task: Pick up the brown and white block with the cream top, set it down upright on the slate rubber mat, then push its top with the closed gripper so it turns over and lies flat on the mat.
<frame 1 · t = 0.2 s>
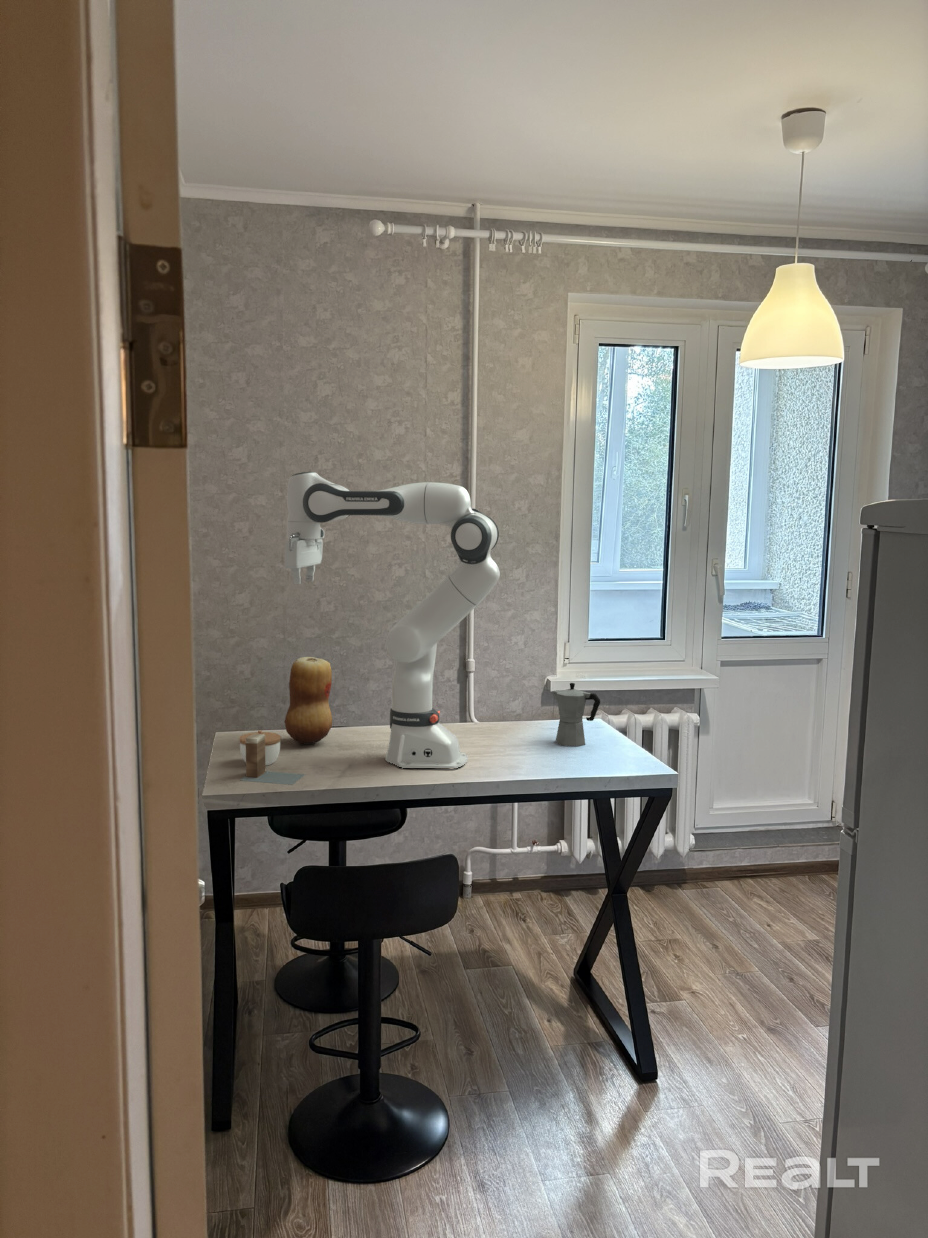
hand: (303, 583, 254), 47 cm above the table, tool pointing down, fingers open, 8 cm apart
butternut squash: (309, 743, 270), on the table
lidded jar: (260, 766, 247), on the table
brown and white block: (255, 774, 236), point 1 cm above the table, touching slate mat
slate mat: (272, 780, 234), on the table
coffeepot: (573, 743, 275), on the table
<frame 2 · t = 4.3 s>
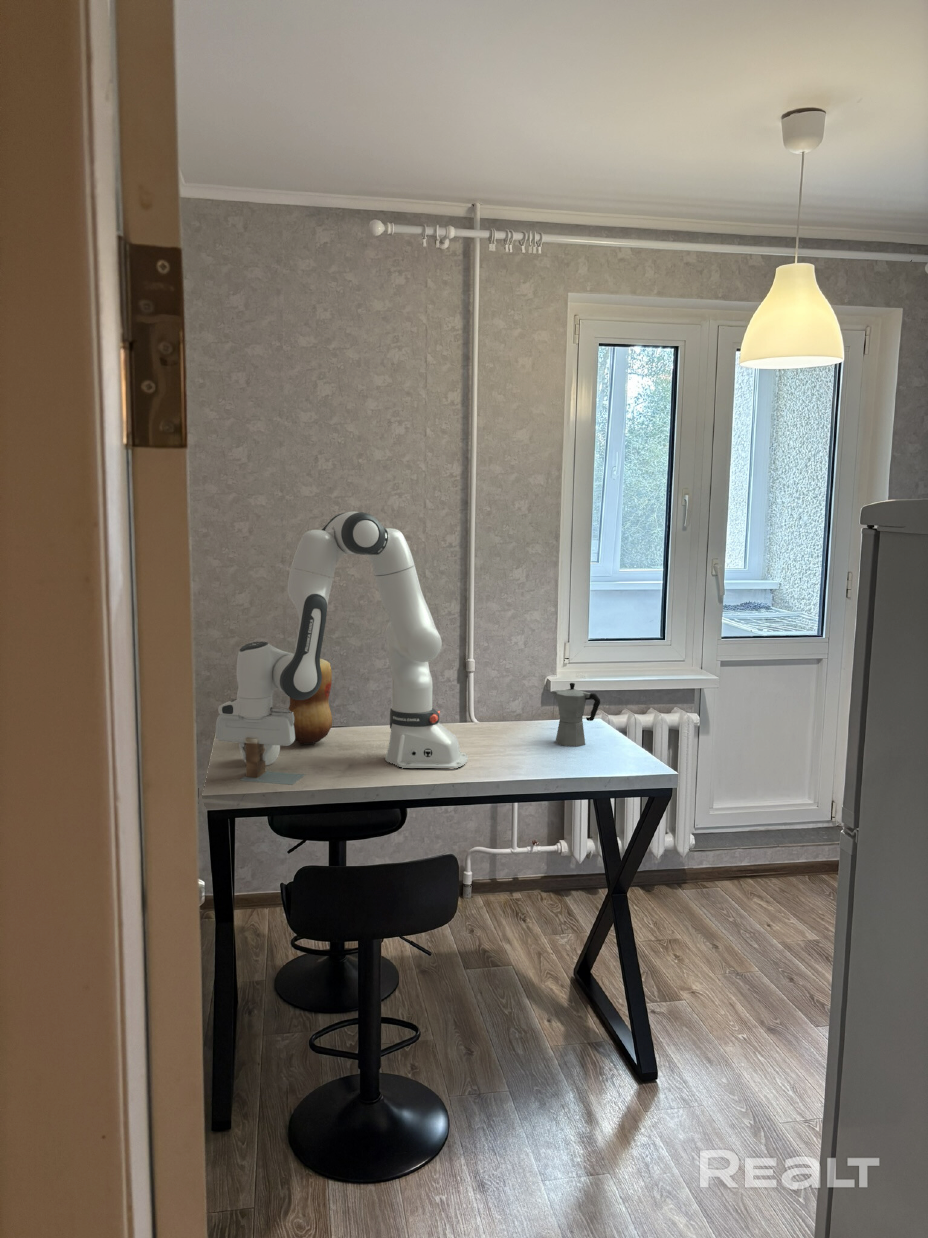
hand: (255, 760, 236), 5 cm above the table, tool pointing down, fingers closed on brown and white block, 3 cm apart
brown and white block: (255, 774, 236), point 1 cm above the table, touching gripper, slate mat
everything else where it was.
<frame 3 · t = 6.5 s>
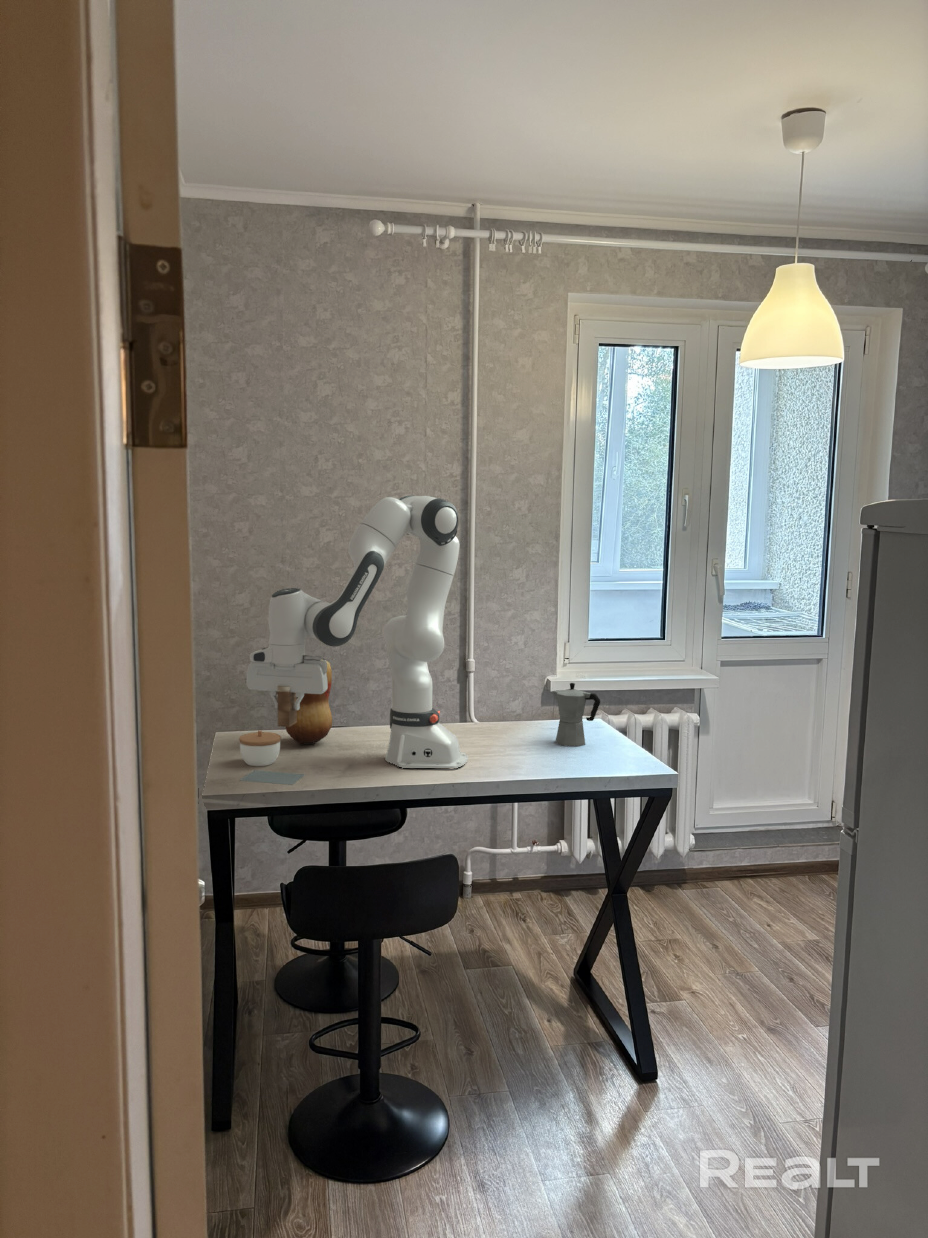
hand: (287, 709, 231), 19 cm above the table, tool pointing down, fingers closed on brown and white block, 3 cm apart
brown and white block: (287, 724, 232), point 15 cm above the table, touching gripper
everything else where it was.
when the fingers open (6 cm above the table, at t = 8.9 s): brown and white block drops 1 cm, resting on slate mat.
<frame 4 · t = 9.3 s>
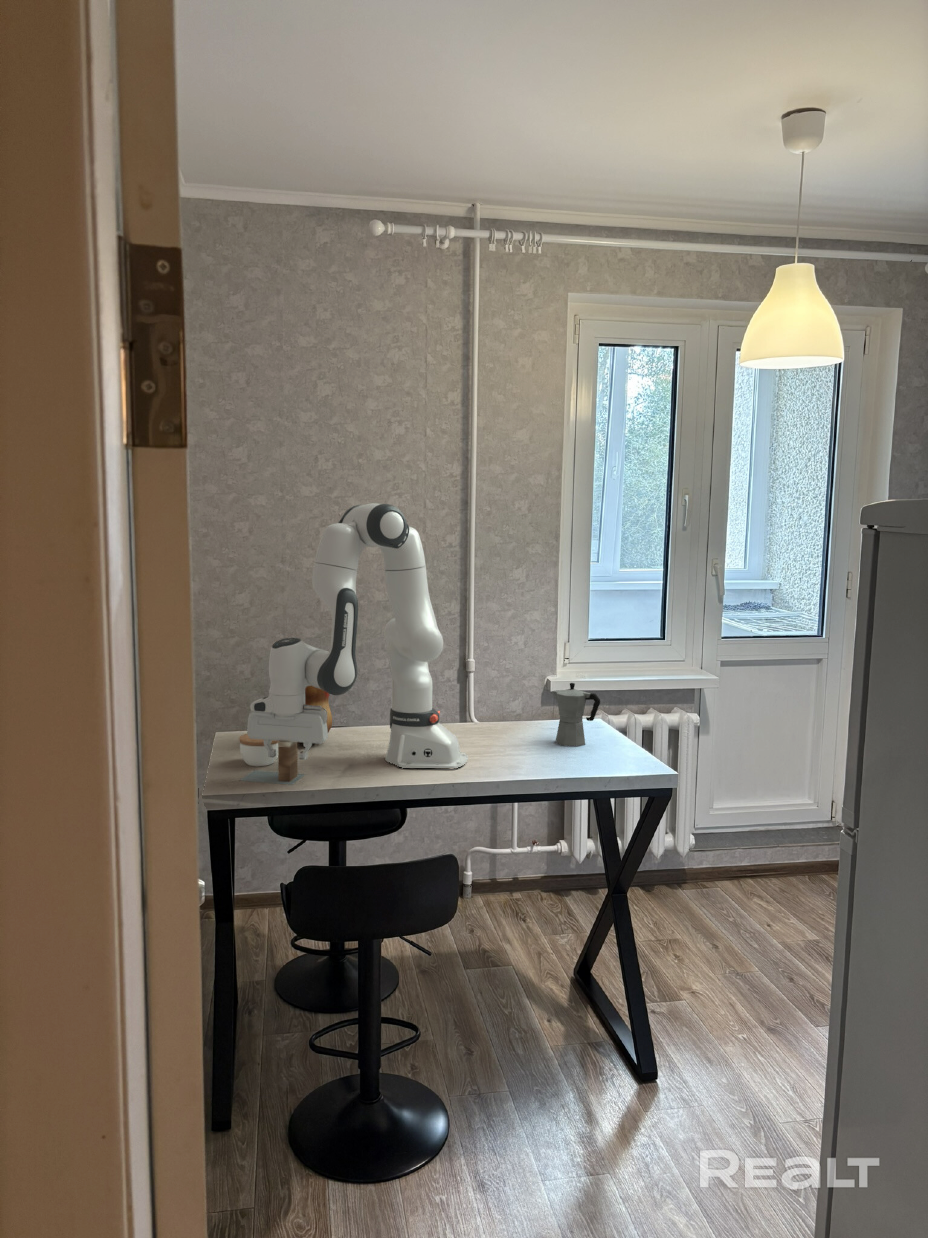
hand: (287, 758, 233), 6 cm above the table, tool pointing down, fingers open, 7 cm apart
brown and white block: (288, 778, 234), point 1 cm above the table, touching slate mat
everything else where it was.
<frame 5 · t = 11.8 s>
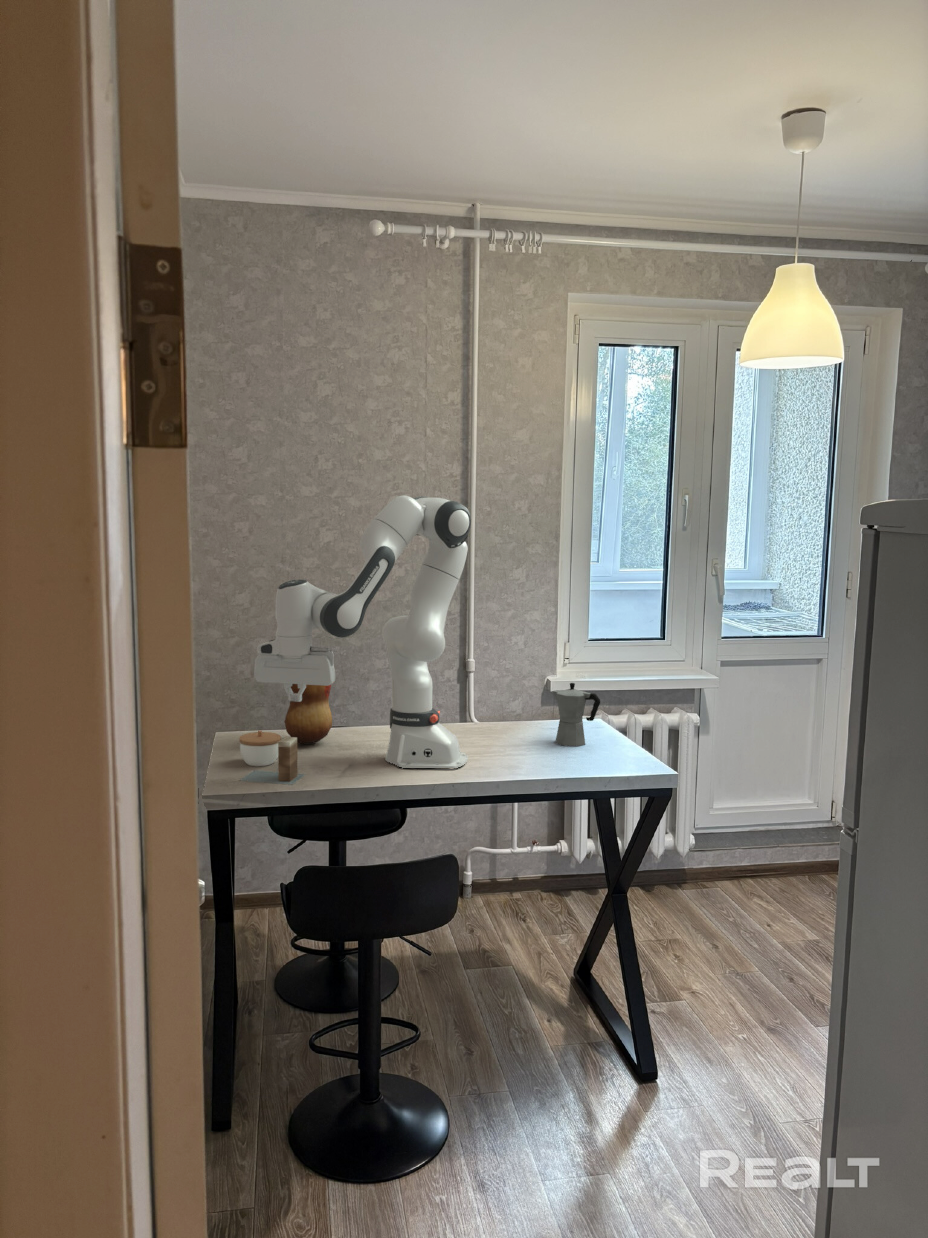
hand: (295, 701, 231), 21 cm above the table, tool pointing down, fingers closed
nothing on the table moved.
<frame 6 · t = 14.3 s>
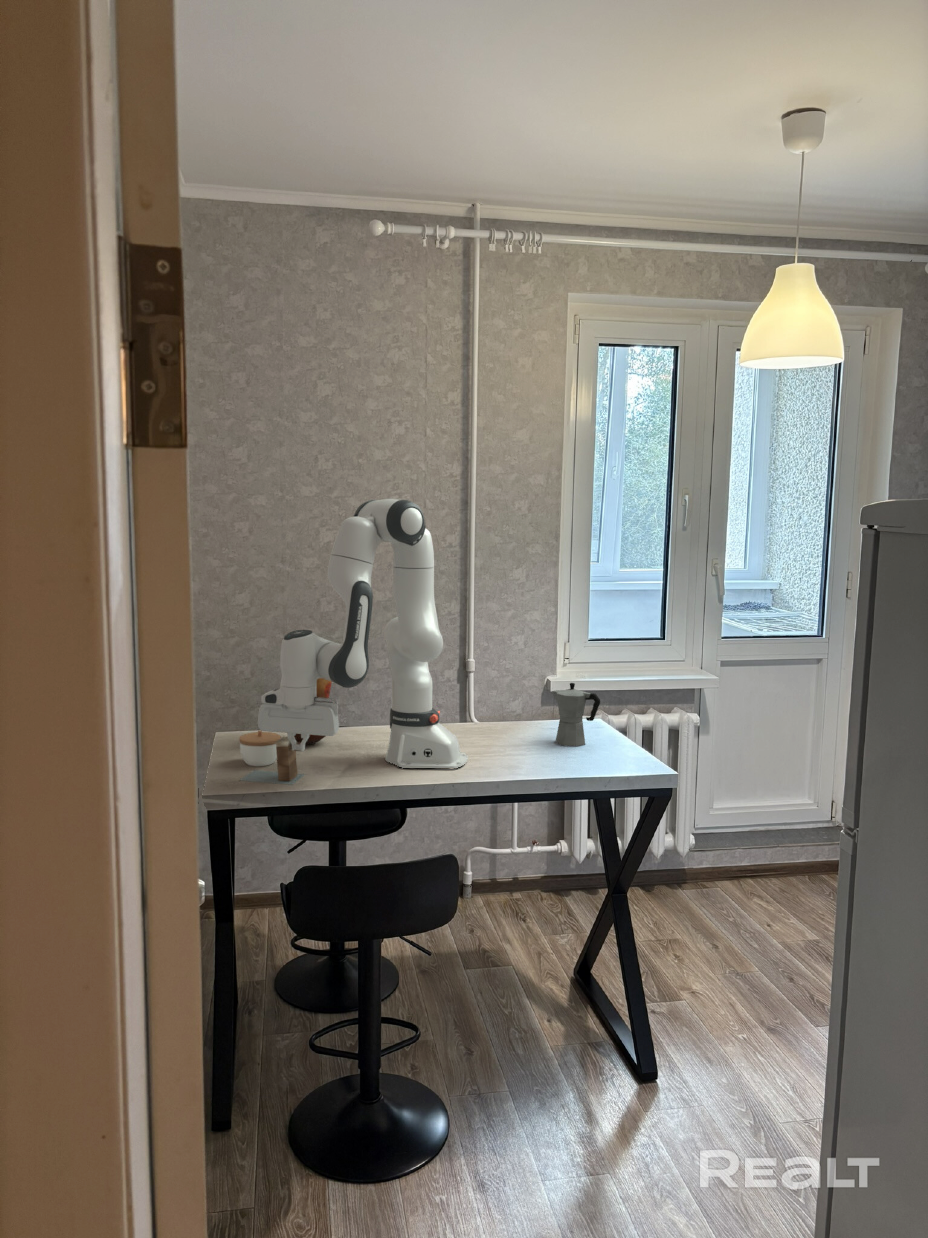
hand: (298, 750, 232), 8 cm above the table, tool pointing down, fingers closed
brown and white block: (288, 778, 234), point 1 cm above the table, touching gripper, slate mat
everything else where it was.
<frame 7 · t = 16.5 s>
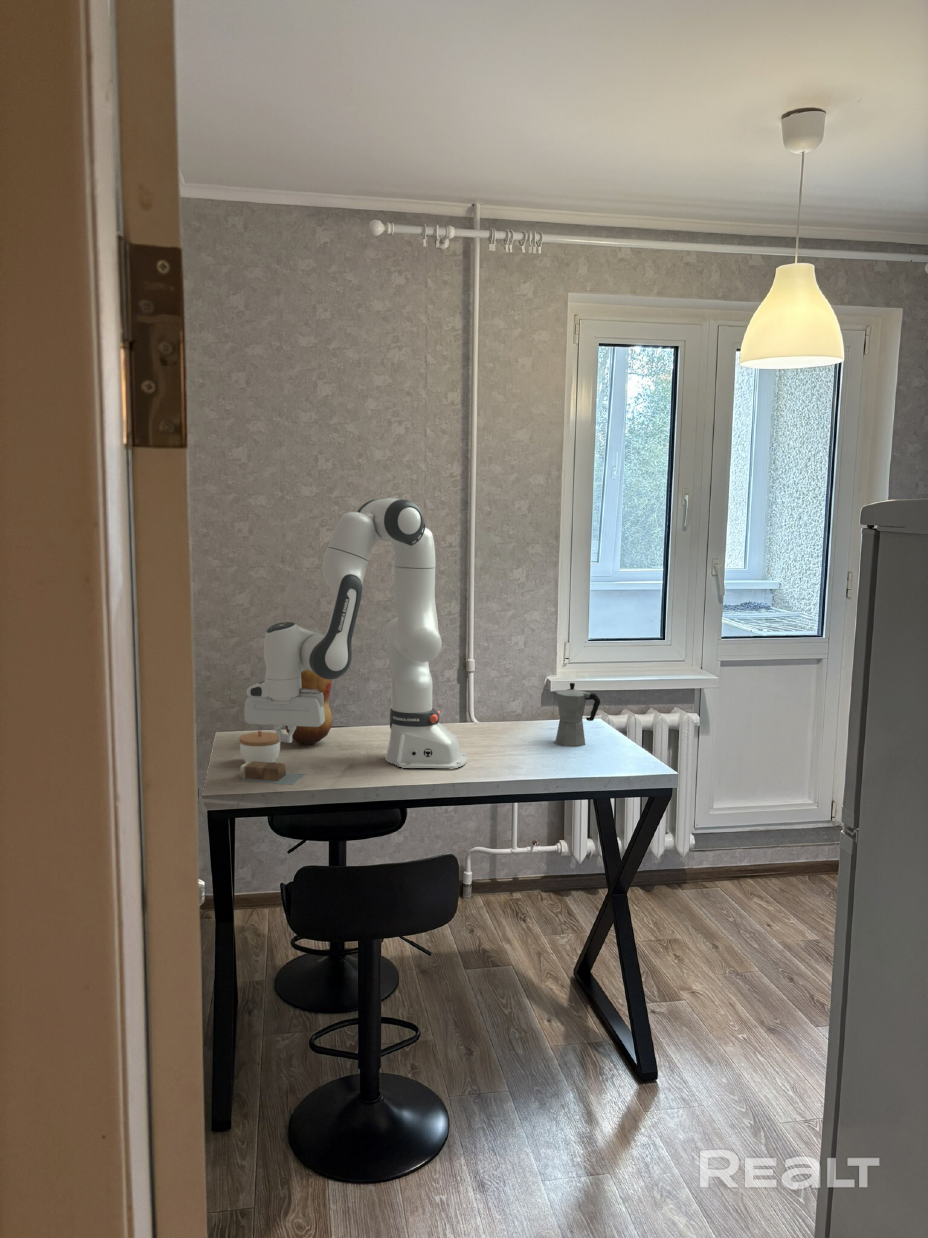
hand: (285, 742, 233), 10 cm above the table, tool pointing down, fingers closed
brown and white block: (282, 772, 234), point 2 cm above the table, tilted 90°, touching slate mat
everything else where it was.
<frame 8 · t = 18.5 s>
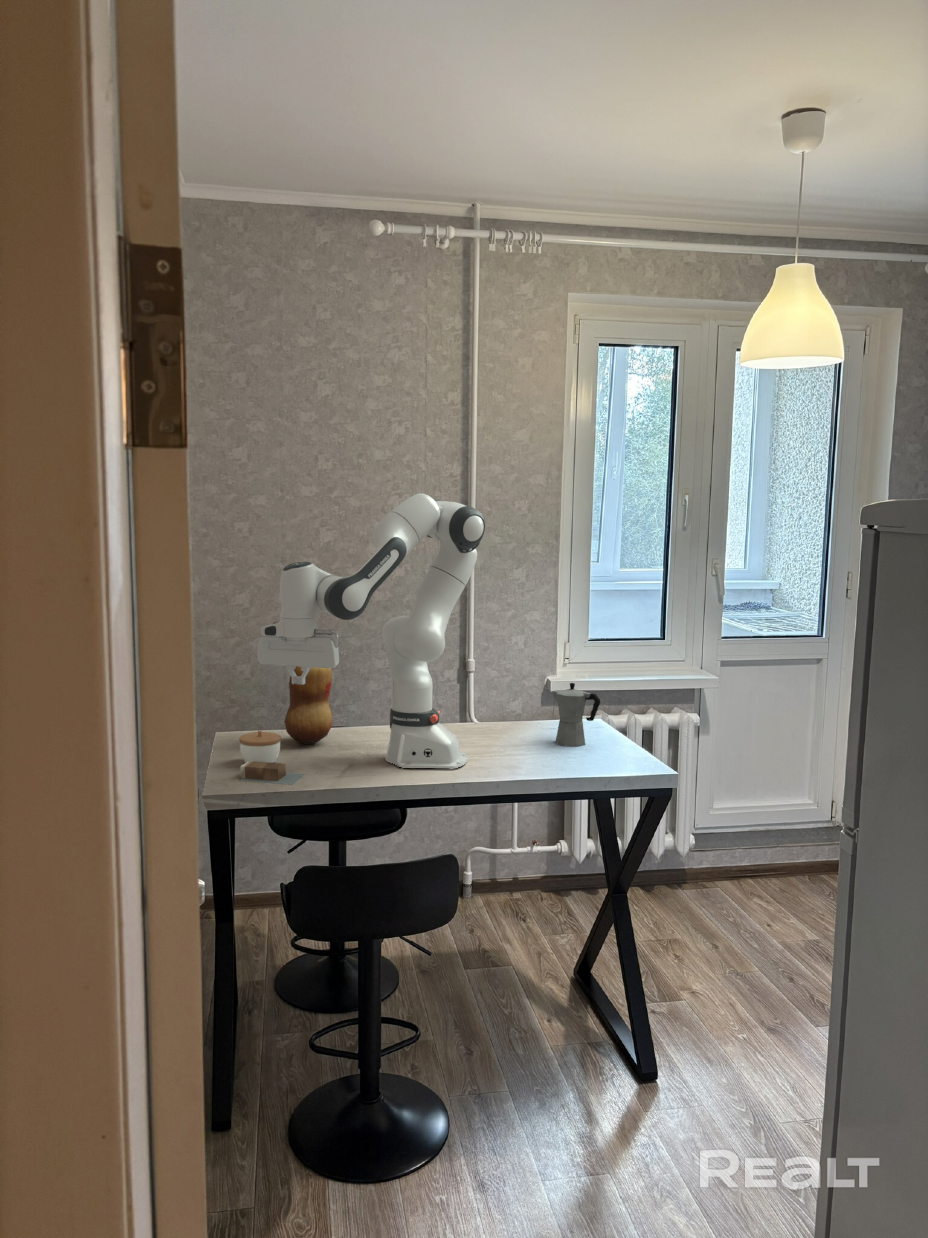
hand: (298, 684, 230), 25 cm above the table, tool pointing down, fingers closed
nothing on the table moved.
at the end: brown and white block tilted 90°; brown and white block inside the target area (3.5 cm from its centre), point 2.3 cm above the table; the gripper is holding nothing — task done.
